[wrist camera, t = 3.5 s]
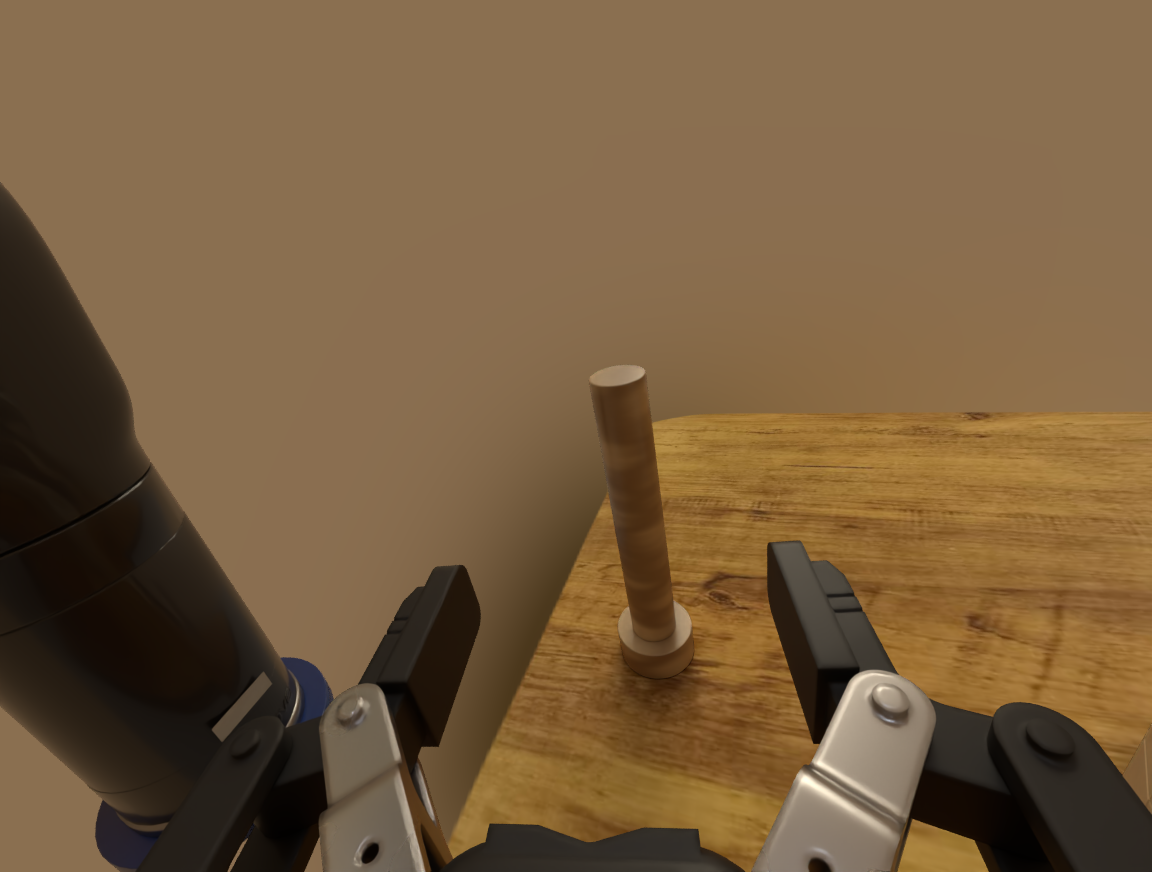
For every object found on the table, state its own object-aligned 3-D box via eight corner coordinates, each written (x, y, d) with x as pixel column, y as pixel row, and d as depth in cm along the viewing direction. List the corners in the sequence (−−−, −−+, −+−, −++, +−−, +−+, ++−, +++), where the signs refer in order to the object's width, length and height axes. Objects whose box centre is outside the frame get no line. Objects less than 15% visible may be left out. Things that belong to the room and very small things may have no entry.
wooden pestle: (621, 680, 29) (563, 400, 21) (622, 620, 33) (574, 364, 25) (698, 678, 28) (669, 386, 20) (690, 617, 32) (663, 352, 24)
